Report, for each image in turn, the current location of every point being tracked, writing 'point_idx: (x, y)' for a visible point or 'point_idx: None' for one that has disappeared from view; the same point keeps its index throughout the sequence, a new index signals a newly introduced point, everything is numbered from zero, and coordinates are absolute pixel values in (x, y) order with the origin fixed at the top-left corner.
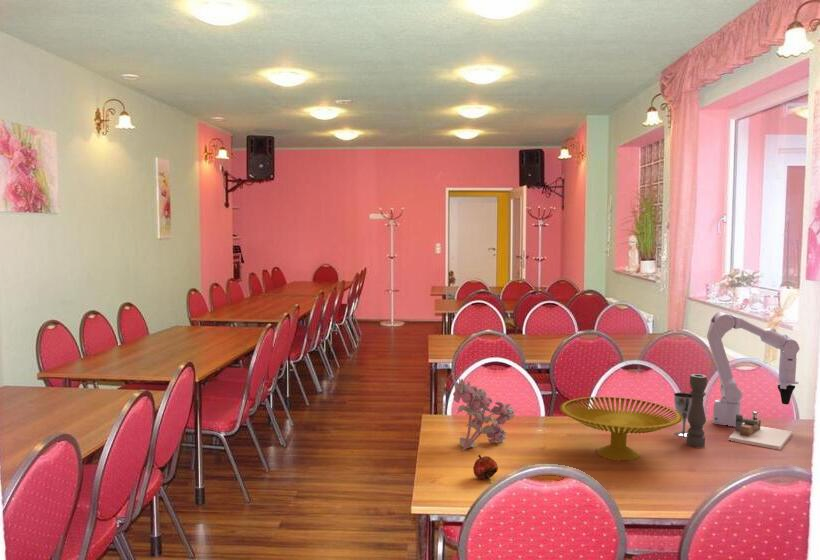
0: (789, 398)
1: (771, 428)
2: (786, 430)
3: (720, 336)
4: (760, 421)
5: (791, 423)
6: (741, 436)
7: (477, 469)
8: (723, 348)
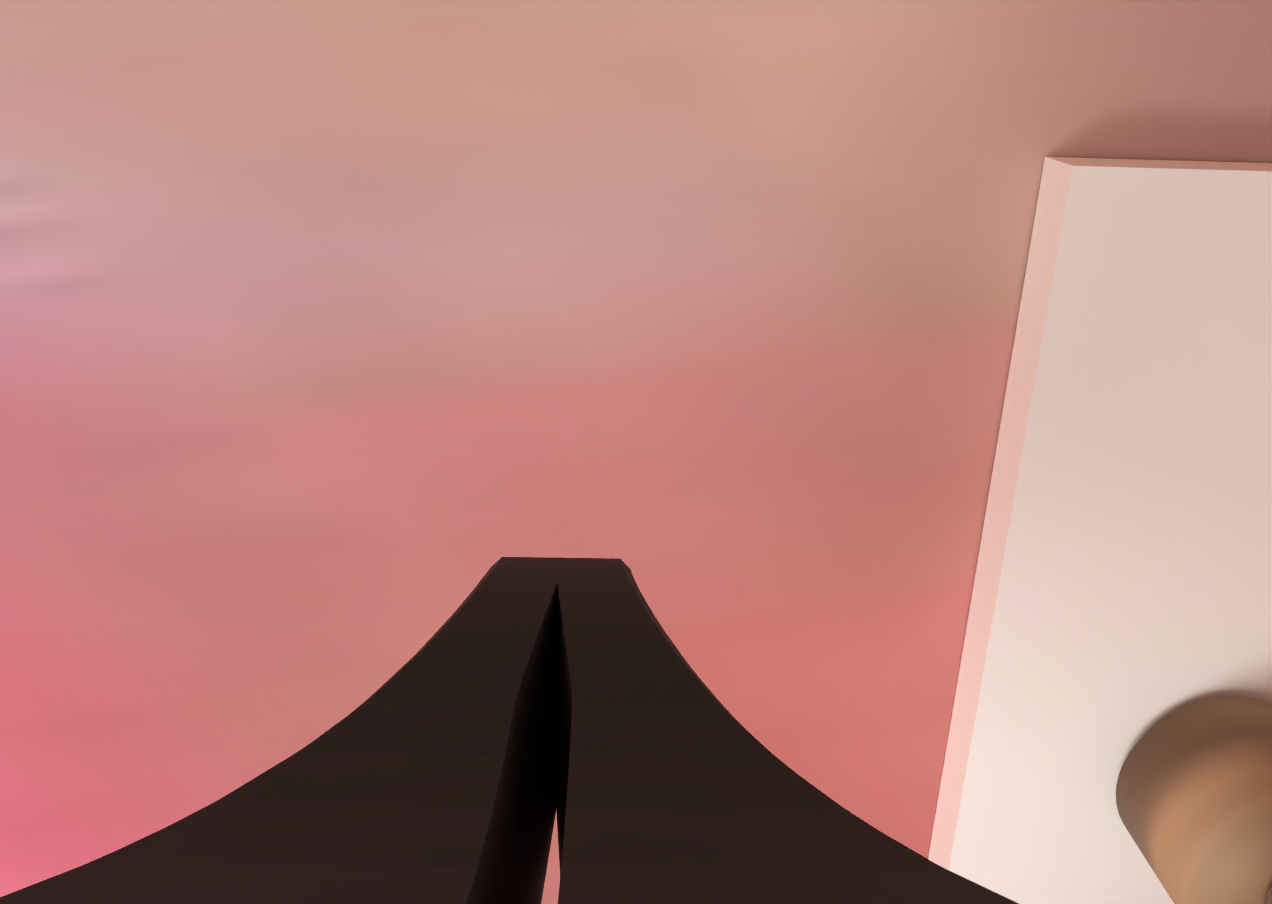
0: (687, 664)
1: (1047, 544)
2: (1054, 280)
3: None
4: None
5: (95, 292)
6: None
7: None
8: None
